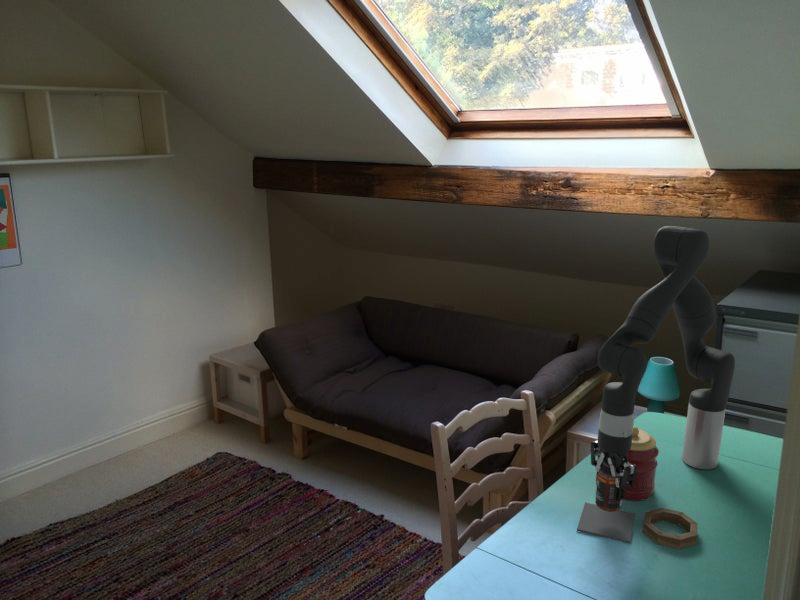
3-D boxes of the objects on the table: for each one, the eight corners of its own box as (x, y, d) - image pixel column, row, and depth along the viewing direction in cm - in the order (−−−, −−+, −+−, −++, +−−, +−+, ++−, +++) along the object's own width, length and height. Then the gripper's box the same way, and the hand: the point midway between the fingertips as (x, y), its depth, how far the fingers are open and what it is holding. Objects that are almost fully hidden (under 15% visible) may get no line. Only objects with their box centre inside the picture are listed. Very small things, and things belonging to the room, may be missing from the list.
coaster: (584, 504, 173) (585, 502, 173) (635, 515, 168) (635, 513, 168) (576, 531, 162) (576, 528, 162) (630, 543, 158) (630, 541, 158)
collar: (645, 513, 169) (646, 504, 169) (696, 524, 165) (697, 515, 164) (641, 540, 159) (642, 531, 158) (695, 553, 155) (697, 543, 154)
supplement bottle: (626, 507, 163) (631, 465, 160) (609, 516, 160) (613, 472, 157) (606, 496, 168) (610, 454, 165) (589, 503, 165) (593, 461, 162)
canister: (664, 498, 175) (671, 436, 170) (617, 505, 173) (623, 441, 168) (637, 472, 188) (643, 413, 183) (592, 477, 185) (598, 417, 180)
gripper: (583, 417, 163) (577, 480, 168) (623, 445, 151) (616, 512, 155) (609, 412, 166) (603, 474, 171) (650, 438, 153) (643, 505, 158)
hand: (609, 492), depth 163 cm, fingers closed on supplement bottle, 6 cm apart
